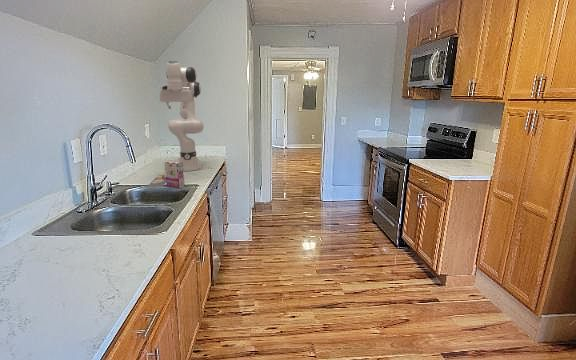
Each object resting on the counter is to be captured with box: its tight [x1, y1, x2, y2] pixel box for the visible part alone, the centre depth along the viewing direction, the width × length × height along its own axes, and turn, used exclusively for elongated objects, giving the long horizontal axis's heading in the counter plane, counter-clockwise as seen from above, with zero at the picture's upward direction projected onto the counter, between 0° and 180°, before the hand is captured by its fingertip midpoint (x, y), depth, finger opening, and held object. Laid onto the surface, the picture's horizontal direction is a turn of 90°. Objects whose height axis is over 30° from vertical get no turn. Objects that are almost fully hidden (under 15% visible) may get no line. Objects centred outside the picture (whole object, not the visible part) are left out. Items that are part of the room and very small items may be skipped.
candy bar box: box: [164, 160, 186, 189], centre depth 209 cm, size 11×5×16 cm, turn 62°
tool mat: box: [147, 176, 167, 187], centre depth 222 cm, size 24×10×1 cm, turn 8°
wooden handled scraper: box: [151, 173, 166, 184], centre depth 223 cm, size 17×6×3 cm, turn 8°
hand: (177, 108), depth 219 cm, fingers open, 8 cm apart
